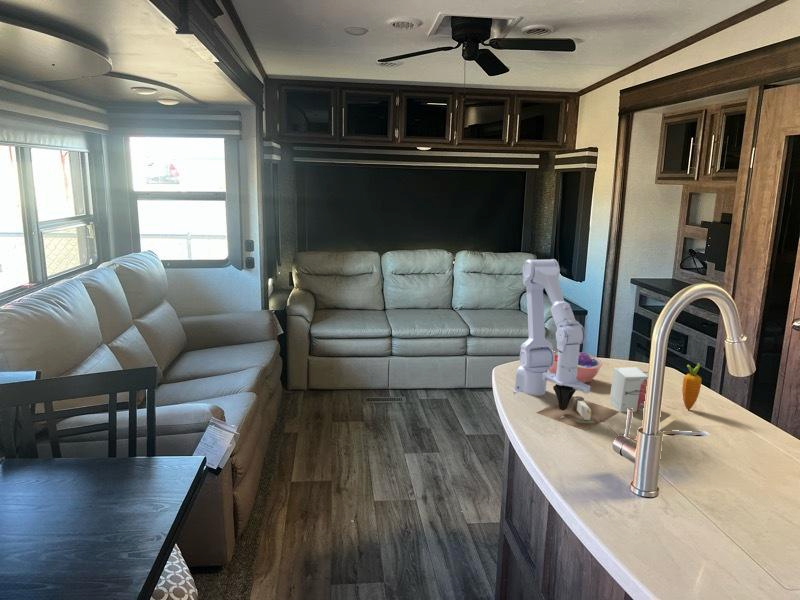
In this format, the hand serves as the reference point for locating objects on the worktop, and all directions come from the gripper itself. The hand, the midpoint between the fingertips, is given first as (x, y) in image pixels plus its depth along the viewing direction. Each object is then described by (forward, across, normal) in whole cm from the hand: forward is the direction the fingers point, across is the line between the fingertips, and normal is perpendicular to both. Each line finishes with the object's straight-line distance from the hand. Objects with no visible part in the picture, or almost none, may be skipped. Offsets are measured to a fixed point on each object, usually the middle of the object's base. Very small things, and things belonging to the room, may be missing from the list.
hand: (563, 409), depth 168 cm
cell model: (+3, -14, +30) cm, 33 cm away
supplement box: (+2, +10, +20) cm, 22 cm away
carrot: (+3, +22, +36) cm, 42 cm away
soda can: (+2, +14, +22) cm, 26 cm away
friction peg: (+1, +5, +3) cm, 6 cm away
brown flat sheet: (+3, +3, +4) cm, 6 cm away
